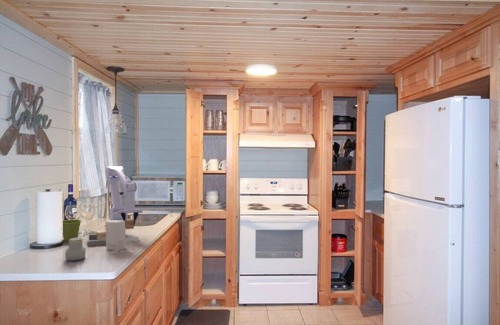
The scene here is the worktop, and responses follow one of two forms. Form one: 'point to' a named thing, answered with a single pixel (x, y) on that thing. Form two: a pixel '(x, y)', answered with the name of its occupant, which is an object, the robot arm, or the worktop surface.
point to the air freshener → (75, 250)
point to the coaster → (132, 239)
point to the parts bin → (95, 241)
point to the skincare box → (115, 235)
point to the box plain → (100, 235)
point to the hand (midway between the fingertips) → (129, 225)
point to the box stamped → (129, 224)
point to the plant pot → (70, 229)
